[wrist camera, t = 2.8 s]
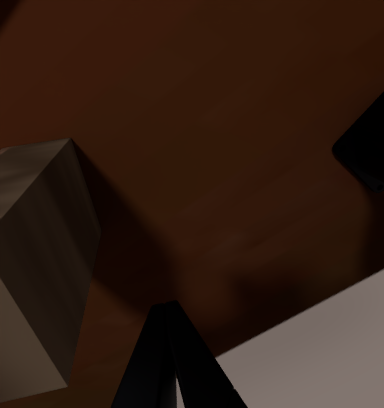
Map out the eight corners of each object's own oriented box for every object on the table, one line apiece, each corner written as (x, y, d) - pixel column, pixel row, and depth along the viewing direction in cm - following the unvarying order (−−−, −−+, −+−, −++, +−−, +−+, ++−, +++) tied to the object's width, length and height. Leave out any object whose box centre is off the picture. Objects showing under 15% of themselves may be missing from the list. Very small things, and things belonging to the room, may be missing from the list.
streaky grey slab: (70, 137, 17) (-21, 244, 7) (101, 230, 20) (67, 386, 11) (2, 148, 16) (-188, 274, 7) (46, 241, 20) (-41, 412, 10)
